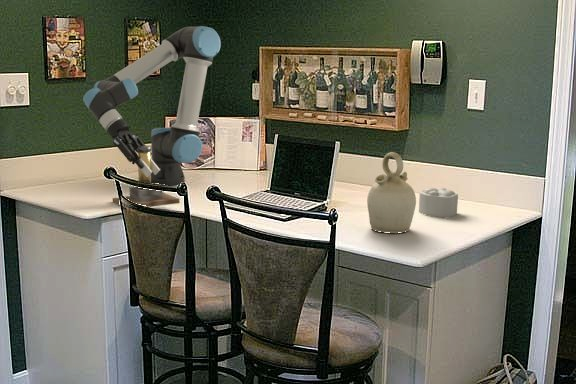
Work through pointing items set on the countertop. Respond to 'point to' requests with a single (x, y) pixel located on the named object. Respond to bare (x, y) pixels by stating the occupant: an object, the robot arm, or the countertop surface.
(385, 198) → the jug
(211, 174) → the countertop surface
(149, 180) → the gold cylindrical piece
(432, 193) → the lumpy-topped squat cylinder
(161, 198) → the hitch socket board
